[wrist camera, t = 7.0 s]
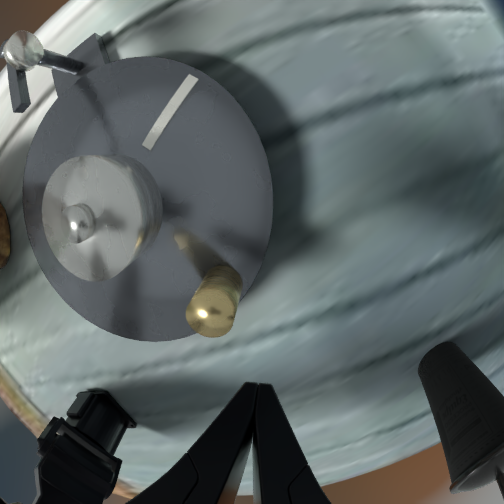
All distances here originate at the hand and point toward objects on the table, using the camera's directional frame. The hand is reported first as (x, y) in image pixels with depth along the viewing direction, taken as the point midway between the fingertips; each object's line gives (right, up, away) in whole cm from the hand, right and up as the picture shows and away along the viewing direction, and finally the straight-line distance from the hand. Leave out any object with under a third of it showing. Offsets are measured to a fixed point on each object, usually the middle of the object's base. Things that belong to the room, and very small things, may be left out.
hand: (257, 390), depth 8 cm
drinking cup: (+18, -6, +13) cm, 23 cm away
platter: (-9, +8, +9) cm, 15 cm away
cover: (-9, +7, +8) cm, 14 cm away
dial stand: (-13, +18, +8) cm, 23 cm away
